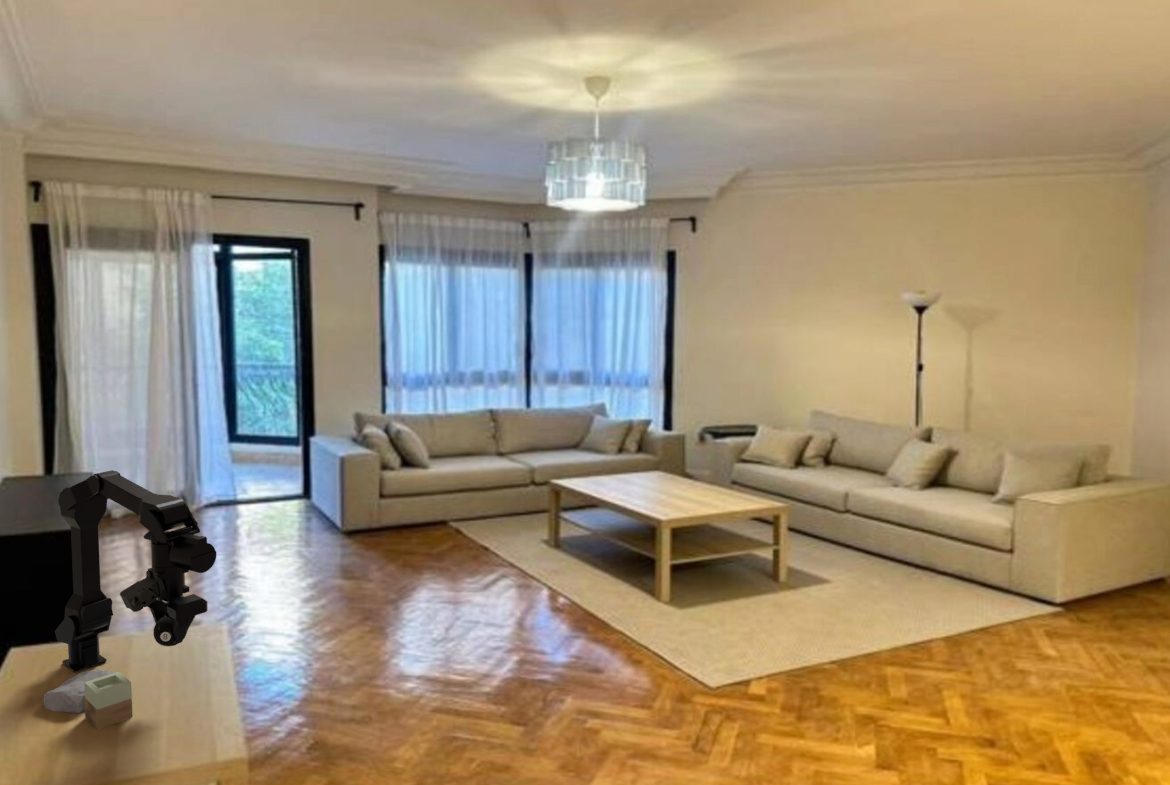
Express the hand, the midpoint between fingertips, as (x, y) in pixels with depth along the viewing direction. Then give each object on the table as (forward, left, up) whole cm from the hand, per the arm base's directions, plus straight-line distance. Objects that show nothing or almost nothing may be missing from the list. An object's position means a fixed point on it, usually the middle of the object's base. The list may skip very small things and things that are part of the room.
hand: (170, 638), depth 165 cm
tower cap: (0, -12, -8) cm, 14 cm away
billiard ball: (0, 0, -2) cm, 2 cm away
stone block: (-12, -12, -12) cm, 21 cm away
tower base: (0, -12, -12) cm, 17 cm away
